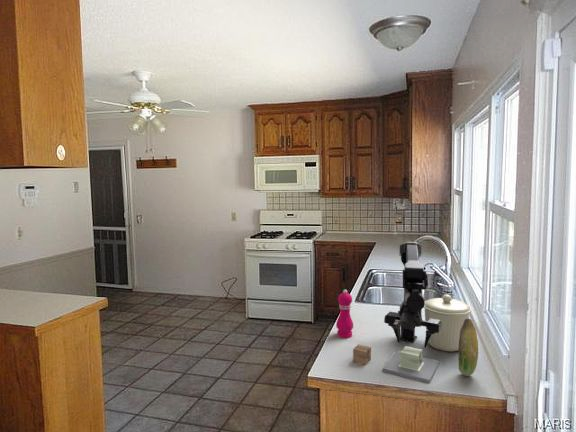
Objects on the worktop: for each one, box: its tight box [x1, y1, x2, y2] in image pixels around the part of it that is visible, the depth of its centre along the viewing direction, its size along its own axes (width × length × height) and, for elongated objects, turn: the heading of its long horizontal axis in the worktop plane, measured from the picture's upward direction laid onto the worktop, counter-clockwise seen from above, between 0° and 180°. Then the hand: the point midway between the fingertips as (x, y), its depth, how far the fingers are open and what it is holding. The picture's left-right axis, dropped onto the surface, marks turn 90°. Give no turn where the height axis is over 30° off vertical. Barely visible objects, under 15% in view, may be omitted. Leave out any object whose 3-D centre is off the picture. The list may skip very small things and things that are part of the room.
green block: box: [401, 345, 423, 370], centre depth 145 cm, size 6×6×5 cm
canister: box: [423, 294, 473, 352], centre depth 162 cm, size 18×18×21 cm
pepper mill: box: [335, 289, 354, 339], centre depth 173 cm, size 7×7×20 cm
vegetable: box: [457, 317, 479, 377], centre depth 137 cm, size 6×6×20 cm
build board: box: [381, 351, 441, 384], centre depth 145 cm, size 16×16×1 cm
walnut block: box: [352, 343, 372, 366], centre depth 150 cm, size 5×5×5 cm
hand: (411, 345), depth 144 cm, fingers open, 9 cm apart
